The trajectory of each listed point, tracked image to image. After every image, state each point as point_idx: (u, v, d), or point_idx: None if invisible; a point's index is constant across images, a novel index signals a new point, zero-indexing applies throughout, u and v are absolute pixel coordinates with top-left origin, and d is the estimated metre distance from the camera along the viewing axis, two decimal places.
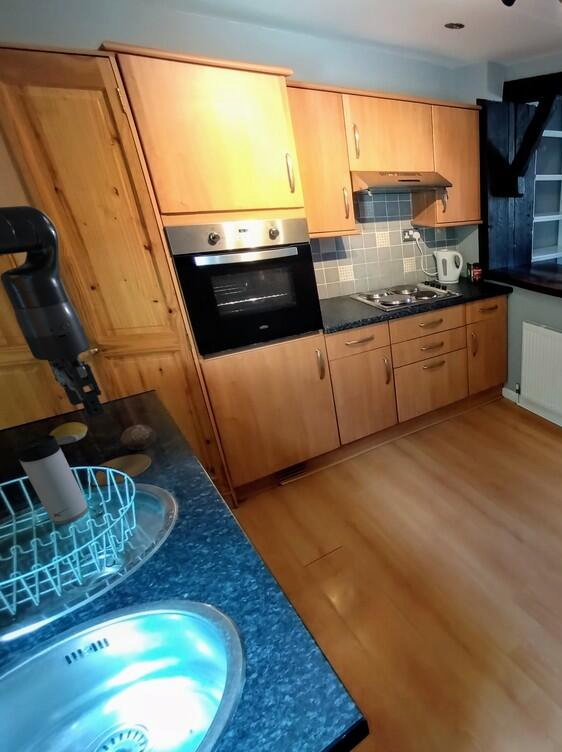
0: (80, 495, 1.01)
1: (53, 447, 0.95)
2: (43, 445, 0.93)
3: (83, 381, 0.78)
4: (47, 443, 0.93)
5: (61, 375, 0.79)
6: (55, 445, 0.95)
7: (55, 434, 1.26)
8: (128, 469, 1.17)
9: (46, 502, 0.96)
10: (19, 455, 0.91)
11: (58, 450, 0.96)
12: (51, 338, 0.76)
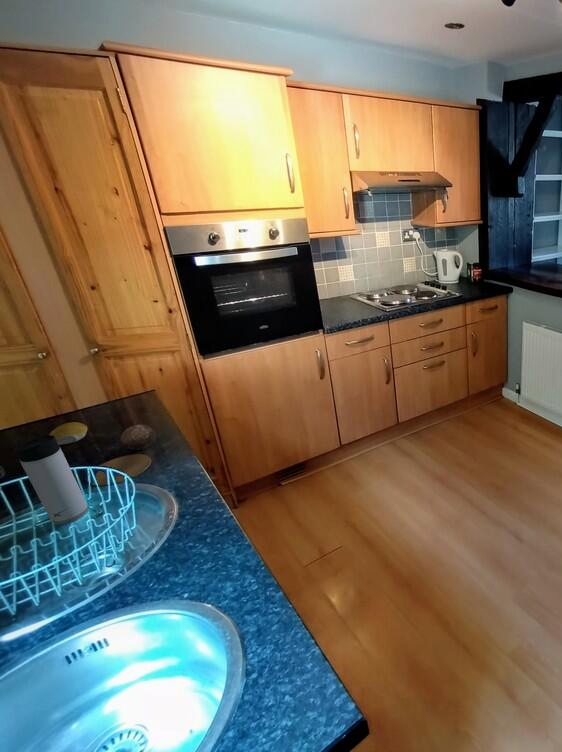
0: (80, 495, 1.01)
1: (53, 447, 0.95)
2: (43, 445, 0.93)
3: None
4: (47, 443, 0.93)
5: None
6: (55, 445, 0.95)
7: (55, 434, 1.26)
8: (128, 469, 1.17)
9: (46, 502, 0.96)
10: (19, 455, 0.91)
11: (58, 450, 0.96)
12: None
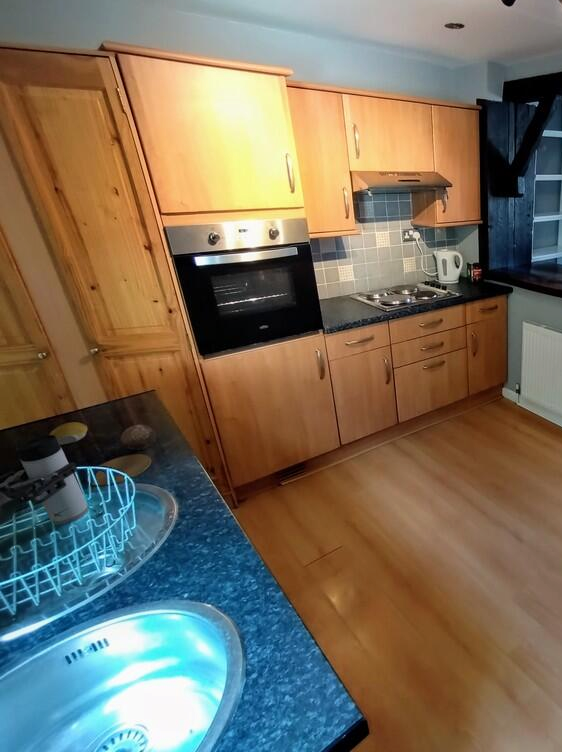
0: (80, 495, 1.01)
1: (54, 447, 0.95)
2: (44, 445, 0.93)
3: (51, 491, 0.91)
4: (48, 443, 0.93)
5: None
6: (56, 445, 0.95)
7: (55, 434, 1.26)
8: (128, 469, 1.17)
9: (46, 502, 0.96)
10: (20, 455, 0.92)
11: (59, 450, 0.96)
12: None
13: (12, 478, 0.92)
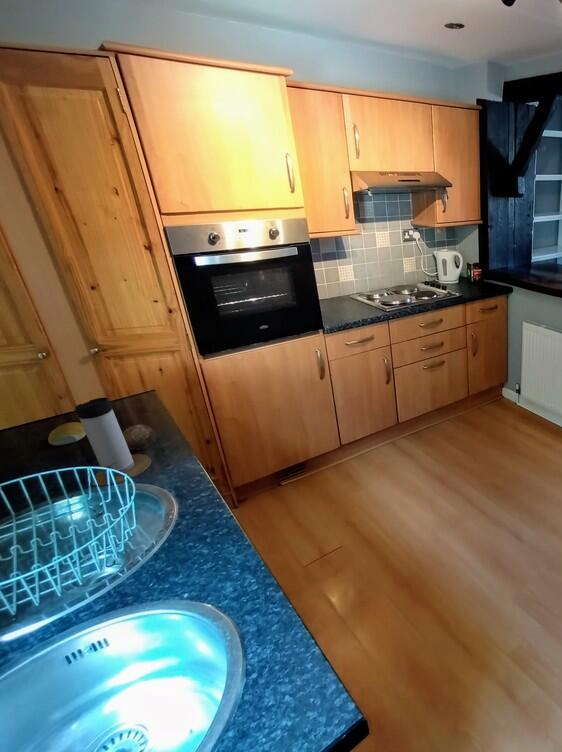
0: (128, 451, 1.16)
1: (107, 407, 1.10)
2: (99, 404, 1.08)
3: None
4: (102, 403, 1.08)
5: None
6: (108, 405, 1.10)
7: (55, 434, 1.26)
8: None
9: (100, 455, 1.11)
10: (79, 413, 1.07)
11: (111, 410, 1.11)
12: None
13: None
